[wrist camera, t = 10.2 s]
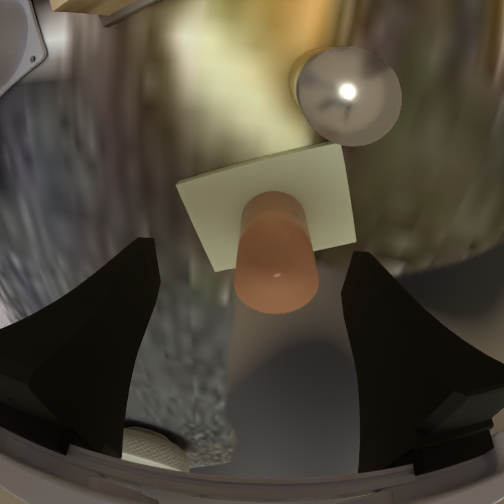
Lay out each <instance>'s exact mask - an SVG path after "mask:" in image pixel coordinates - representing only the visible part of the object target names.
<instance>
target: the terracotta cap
mask: <svg viewBox="0 0 504 504" xmlns="http://www.w3.org/2000/svg"><path fill="white" fill-rule="evenodd" d="M318 286H319V277H318V272H317V267H316V262H315V257H314V252H313V248H312V243H311V238H310V234H309V229H308V225H307V220H306V216H305V212H304V209H303V207H302V205H301V204H300V203H299V201H298V200H297V199H296V198H294V197H293V196H291V195H289V194H287V193H284V192H279V191H269V192H264V193H261V194H258V195H257V196H255V197H253V198H252V199H251V200H250V201H249V202H248V203H247V204H246V206H245V207H244V209H243V212H242V217H241V226H240V234H239V242H238V251H237V259H236V268H235V277H234V288H235V292H236V294H237V296H238V297H239V299H240V300H241V301H242V302H243V303H244V304H245V305H247V306H249V307H250V308H252V309H254V310H257V311H259V312H263V313H268V314H282V313H288V312H291V311H294V310H297V309H299V308H301V307H303V306H304V305H306V304H307V303H308V302H309V301H310V300H311V299H312V298H313V297H314V295H315V294H316V292H317V289H318Z"/></svg>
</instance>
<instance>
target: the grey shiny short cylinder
mask: <svg viewBox="0 0 504 504" xmlns="http://www.w3.org/2000/svg"><path fill="white" fill-rule="evenodd" d="M289 88H290V91H291V94H292V96H293V98H294V99H295V101H296V102H297V104H298V106H299V107H300V109H301V110H302V112H303V114H304V115H305V117H306V118H307V120H308V122H309V123H310V125H311V126H312V127H313V128H314V129H315V130H316V131H317V132H318V133H319V134H320V135H321V136H323V137H324V138H326V139H327V140H329V141H331V142H334V143H336V144H339V145H343V146H363V145H367V144H370V143H373V142H375V141H377V140H379V139H380V138H382V137H383V136H385V135H386V134H387V133H388V132H389V131H390V130H391V128H392V127H393V126H394V124H395V123H396V121H397V119H398V116H399V113H400V110H401V104H402V93H401V87H400V83H399V81H398V78H397V76H396V74H395V72H394V71H393V69H392V68H391V67H390V66H389V64H388V63H387V62H386V61H385V60H384V59H382V58H381V57H380V56H378V55H377V54H375V53H373V52H371V51H369V50H366V49H363V48H359V47H352V46H345V47H331V48H319V49H314V50H310V51H308V52H306V53H304V54H302V55H301V56H300V57H299V58H298V59H297V60H296V61H295V62H294V64H293V66H292V67H291V70H290V73H289Z"/></svg>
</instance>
